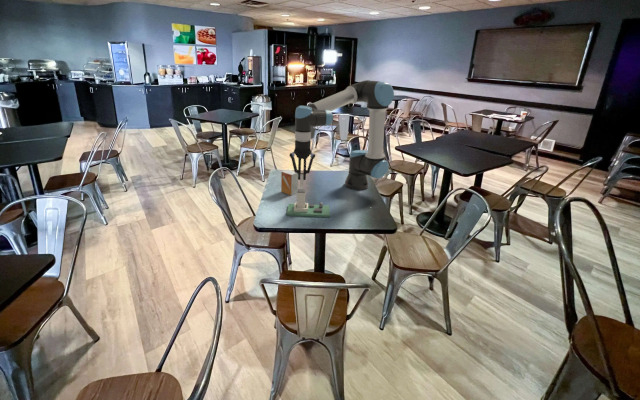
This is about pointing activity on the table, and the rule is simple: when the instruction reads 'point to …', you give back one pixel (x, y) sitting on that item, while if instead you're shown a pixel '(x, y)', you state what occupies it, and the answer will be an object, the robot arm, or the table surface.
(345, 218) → the table surface
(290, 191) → the small box
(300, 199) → the plug
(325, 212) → the board
